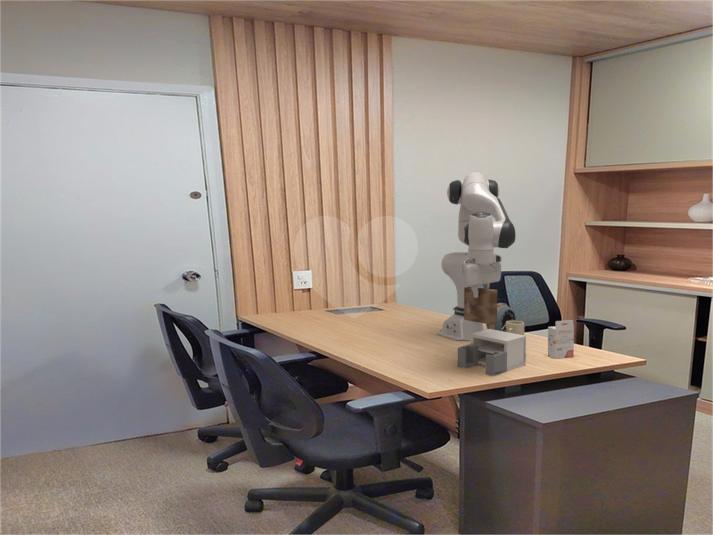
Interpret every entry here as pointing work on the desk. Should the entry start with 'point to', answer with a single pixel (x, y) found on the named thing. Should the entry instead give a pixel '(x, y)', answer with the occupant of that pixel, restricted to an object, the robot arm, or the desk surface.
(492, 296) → the wooden block
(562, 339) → the ink cartridge box
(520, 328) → the character mug
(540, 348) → the desk surface
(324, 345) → the desk surface
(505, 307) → the alarm clock
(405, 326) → the desk surface
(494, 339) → the cabinet
